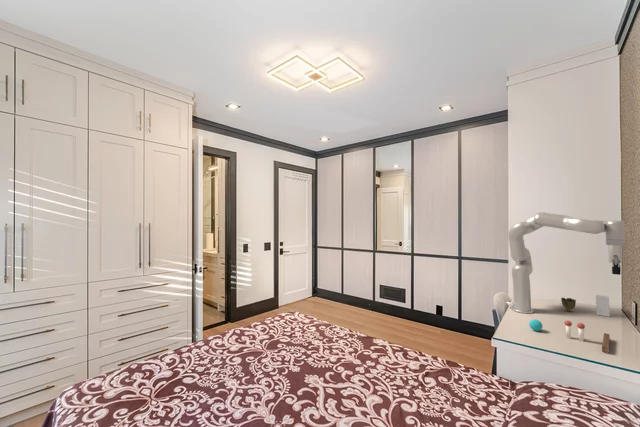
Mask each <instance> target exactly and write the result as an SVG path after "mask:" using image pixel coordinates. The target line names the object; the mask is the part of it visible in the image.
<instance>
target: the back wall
mask: <svg viewBox="0 0 640 427" xmlns="http://www.w3.org/2000/svg"><path fill="white" fill-rule="evenodd" d="M610 340H611V336H610V333H605V332H603V338H602V343H601V350H602V351H601V353H602V352H604V353H603V354H607V353H608V354H609V352H608V351H610V350H609V349H610Z"/></svg>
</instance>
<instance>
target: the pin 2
mask: <svg viewBox="0 0 640 427" xmlns="http://www.w3.org/2000/svg"><path fill="white" fill-rule="evenodd" d="M576 326H577V329H578V341H580V342H585V330H584V329H585V328H586V325H585V324H584V323H582V322H578V323H577V324H576Z"/></svg>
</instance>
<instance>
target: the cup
mask: <svg viewBox="0 0 640 427" xmlns="http://www.w3.org/2000/svg"><path fill="white" fill-rule="evenodd" d="M560 300H561V305H562V307H563V308H564V310H565V311H566V312H570V313H571V312H573V310H574V309H575V307H576V303H577V300H576V299H574V298H571V297H567V298H565V297H561V298H560Z"/></svg>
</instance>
